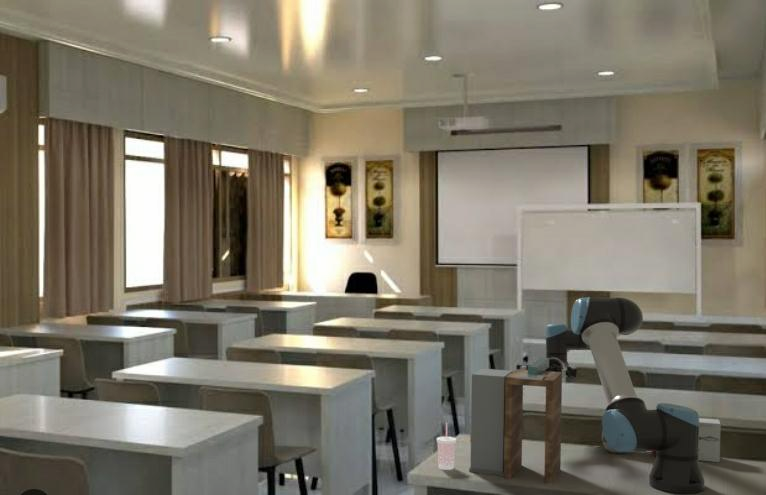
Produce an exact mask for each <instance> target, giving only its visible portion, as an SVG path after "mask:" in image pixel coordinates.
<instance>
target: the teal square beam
mask: <svg viewBox="0 0 766 495" xmlns="http://www.w3.org/2000/svg"><path fill="white" fill-rule="evenodd" d="M528 365H529V366H528V374H522V373H519V374H517V375H516V376H515V378H517V379H530V380H543V379H544V378H545V377H546V375H540V374H541V373H542V372H543V371H545V370H546V369H547V368H548V367H549V358H546V357H539V358H537V359H536V360H535V361H534V362H532V363H531V364H528Z"/></svg>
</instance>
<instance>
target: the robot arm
mask: <svg viewBox="0 0 766 495" xmlns="http://www.w3.org/2000/svg"><path fill="white" fill-rule="evenodd" d="M643 316H644V314H643V312H642V310H641V307H639V305H638V304H637V303H636V302H634V301H633V300H631V299H628V298H625V297H590V296H587V297H580V298H577V299H576V300H575V301H574V303H573V305H572V309H571V315H570V327H571V328H568V327H567V324H565V323H563V324H562V323H558V324H557V323H553V324H552V323H550V324H549V323H548V324H547V325H546V327H545V351H546V353H545V358H549V367H548V368H547V369H546V370H545V371H550V372H562V379H565V378H567V377H568V378H571V377H573V378H577V369H576V368H572V366H570V364H569V362H568V351H591V355H592V357H593V361H594V364H595V368H596V370H597V374H598V377H599V379H600V382H601V386H602V390H603V393H604V395H605V398H606V402H607V406H606V407H605V410H604V413H603V414H602V418H601V426H602V429H601V430H602V432H603V434H604V437H605V439H606V441H607V443H608V445H609V446H610V447H611V448H612V449H614V450H616V451H625V453H632V452H652V451H656V456H655V460H654V462H653V464H652V467H651V470H650V472H649V476H648V477H649V478H648V479H649V483H648V484H649V485H650V486H651V487H653V488H654V489H657V490H660V491H665V492H669V493H676V494H696V493H700V492H701V493H702V492H703V491H704V490H705V478H704V474H703V473H702V469H701V465H700V462H699V461H700V460H698V453H699V427H700V425H699V418H700V415H699V413H698V411H696V410H695V409H693V408H690V407H687V406H684V405H679V404H673V403H665V402H664V403H663V402H660V403H656V404H657V405H656V406H655V408H656V409H647V407H646V404H645V402H644V401H645V400H644V399H642V398H640V397H638V396H637V394H636V390H635V388H634V385H633V382H632V379H631V376H630V373H629V371H628V368H627V365H626V361H625V358H624V355H623V353H622V350H621V347H620V344H619V342H618V337H620V336H628V335H631V334H633V333H635V332H637V331H638V330H639V329H640V328H641V326H642V325H643V320H644V319H643V318H644V317H643ZM529 365H530V364H516V369H515V370H517V369H521V370H528V366H529Z"/></svg>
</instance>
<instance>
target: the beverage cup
mask: <svg viewBox="0 0 766 495" xmlns="http://www.w3.org/2000/svg"><path fill="white" fill-rule="evenodd" d="M436 443H437V458H438V459H437V460H438V464H437V465H438V469H440V470H442V471H443V470H444V471H445V470H446V471H451V470H453V469H454V466H455V455H456V453H455V452H456V443H457V438H455V437H454V436H448V422H445V436H438V437H437V438H436Z"/></svg>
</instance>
